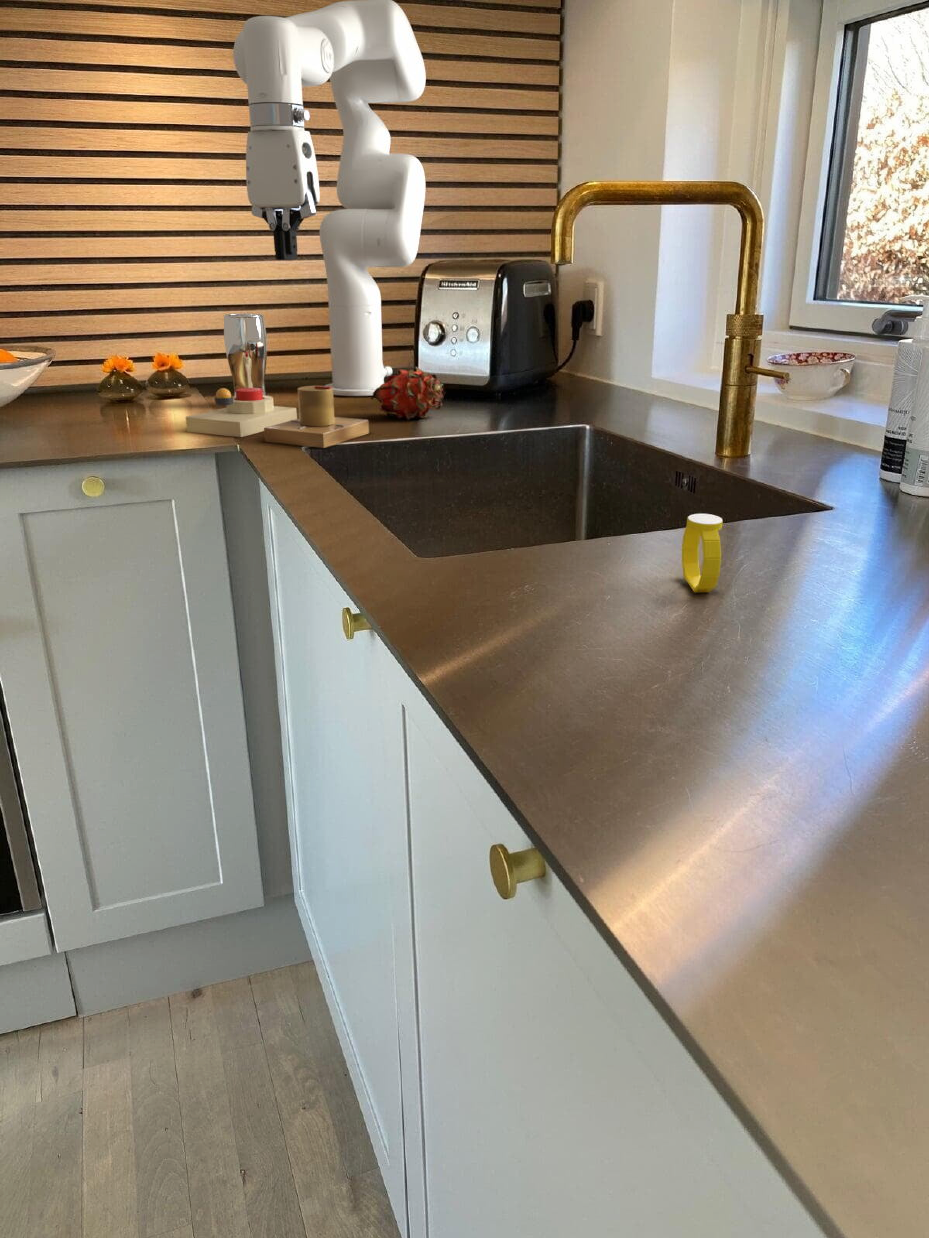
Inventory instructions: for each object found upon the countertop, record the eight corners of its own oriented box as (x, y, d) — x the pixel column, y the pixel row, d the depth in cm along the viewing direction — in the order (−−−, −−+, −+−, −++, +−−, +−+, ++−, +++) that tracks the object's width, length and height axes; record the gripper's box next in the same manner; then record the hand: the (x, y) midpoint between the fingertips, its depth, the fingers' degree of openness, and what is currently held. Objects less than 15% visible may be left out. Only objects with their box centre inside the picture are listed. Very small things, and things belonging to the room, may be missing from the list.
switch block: (246, 417, 152) (244, 392, 150) (297, 422, 148) (295, 396, 146) (187, 431, 140) (184, 404, 139) (240, 437, 136) (238, 409, 135)
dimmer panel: (312, 427, 143) (312, 413, 143) (369, 433, 139) (368, 418, 139) (264, 441, 133) (263, 426, 133) (323, 448, 129) (323, 432, 129)
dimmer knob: (293, 425, 134) (290, 387, 132) (311, 419, 139) (309, 382, 137) (323, 427, 133) (321, 389, 131) (341, 421, 137) (339, 384, 135)
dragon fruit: (451, 428, 152) (378, 439, 152) (444, 390, 156) (373, 402, 156) (447, 390, 145) (370, 402, 144) (439, 351, 149) (365, 363, 149)
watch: (670, 575, 81) (677, 508, 78) (702, 574, 81) (709, 507, 79) (691, 600, 75) (698, 528, 73) (725, 599, 75) (733, 527, 73)
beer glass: (276, 403, 165) (270, 313, 159) (264, 409, 158) (257, 316, 153) (237, 402, 165) (230, 313, 160) (224, 409, 159) (216, 316, 153)
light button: (247, 398, 147) (246, 387, 146) (268, 400, 145) (267, 388, 145) (231, 402, 144) (230, 390, 143) (252, 404, 142) (251, 392, 141)
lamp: (223, 402, 141) (221, 386, 140) (236, 403, 140) (235, 387, 139) (211, 404, 139) (210, 388, 138) (225, 406, 138) (224, 390, 137)
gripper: (336, 121, 133) (342, 259, 140) (251, 125, 139) (261, 258, 146) (305, 116, 126) (313, 261, 134) (217, 121, 133) (230, 260, 140)
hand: (286, 259), depth 140 cm, fingers closed
